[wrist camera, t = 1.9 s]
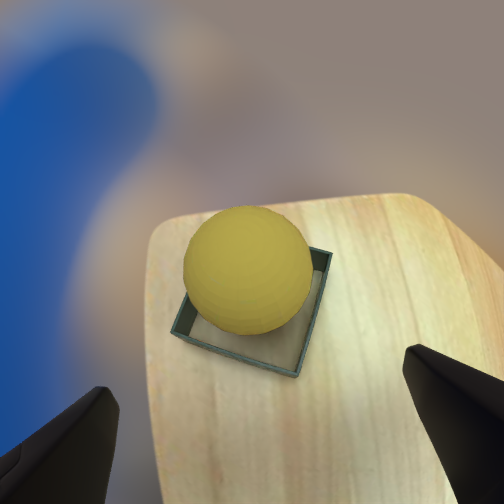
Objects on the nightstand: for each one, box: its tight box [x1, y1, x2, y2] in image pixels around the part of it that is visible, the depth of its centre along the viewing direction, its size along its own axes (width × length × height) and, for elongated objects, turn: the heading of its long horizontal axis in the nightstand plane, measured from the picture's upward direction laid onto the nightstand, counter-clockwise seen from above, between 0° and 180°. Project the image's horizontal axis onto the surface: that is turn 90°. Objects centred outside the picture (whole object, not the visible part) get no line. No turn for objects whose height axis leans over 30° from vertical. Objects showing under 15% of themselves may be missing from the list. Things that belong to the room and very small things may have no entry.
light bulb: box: [183, 205, 313, 335], centre depth 17 cm, size 7×7×10 cm
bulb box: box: [170, 246, 333, 378], centre depth 20 cm, size 8×8×3 cm
